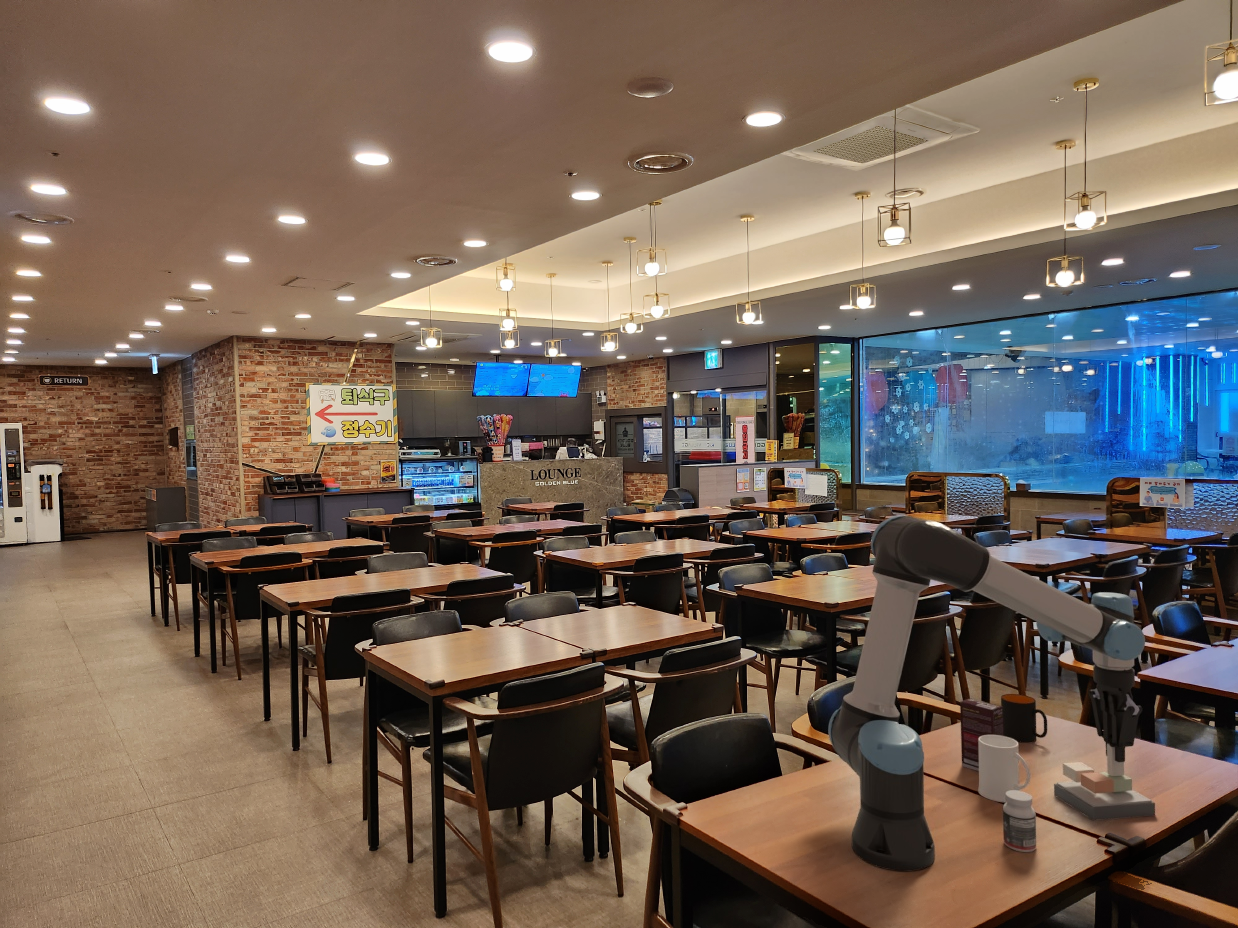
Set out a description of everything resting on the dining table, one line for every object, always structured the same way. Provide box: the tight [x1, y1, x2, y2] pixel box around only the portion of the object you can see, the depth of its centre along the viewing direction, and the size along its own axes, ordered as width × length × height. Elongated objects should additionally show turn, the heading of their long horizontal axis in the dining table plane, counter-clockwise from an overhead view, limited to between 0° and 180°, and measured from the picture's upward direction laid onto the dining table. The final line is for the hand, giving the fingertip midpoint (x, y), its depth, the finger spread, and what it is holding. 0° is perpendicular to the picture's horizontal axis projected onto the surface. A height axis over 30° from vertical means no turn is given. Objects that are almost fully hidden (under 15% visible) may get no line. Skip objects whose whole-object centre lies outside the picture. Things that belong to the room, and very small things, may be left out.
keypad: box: [1053, 780, 1156, 821], centre depth 167 cm, size 14×12×3 cm
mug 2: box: [977, 735, 1031, 803], centre depth 171 cm, size 12×8×12 cm
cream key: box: [1062, 761, 1095, 782], centre depth 169 cm, size 4×4×2 cm
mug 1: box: [1000, 693, 1048, 744], centre depth 205 cm, size 8×12×10 cm
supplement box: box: [959, 698, 1004, 772], centre depth 187 cm, size 9×5×16 cm, turn 36°
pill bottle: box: [1002, 790, 1037, 853], centre depth 150 cm, size 6×6×10 cm
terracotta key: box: [1081, 771, 1114, 794], centre depth 163 cm, size 4×4×2 cm
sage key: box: [1099, 771, 1133, 792], centre depth 167 cm, size 4×4×2 cm
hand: (1115, 774), depth 167 cm, fingers closed
